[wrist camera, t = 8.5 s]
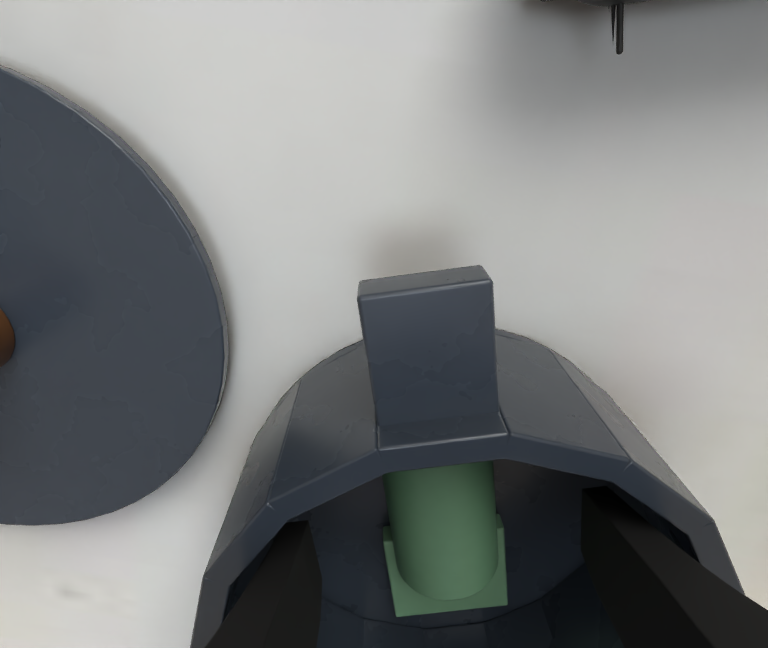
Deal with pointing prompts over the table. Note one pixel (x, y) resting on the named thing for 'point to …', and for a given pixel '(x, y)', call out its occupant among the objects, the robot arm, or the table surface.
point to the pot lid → (95, 317)
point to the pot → (444, 448)
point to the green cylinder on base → (444, 539)
